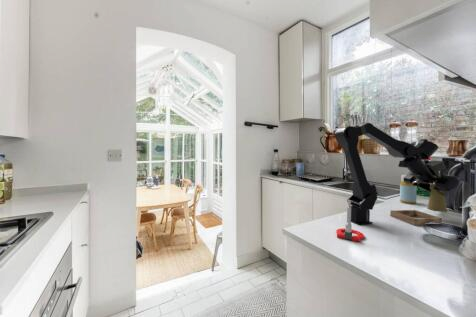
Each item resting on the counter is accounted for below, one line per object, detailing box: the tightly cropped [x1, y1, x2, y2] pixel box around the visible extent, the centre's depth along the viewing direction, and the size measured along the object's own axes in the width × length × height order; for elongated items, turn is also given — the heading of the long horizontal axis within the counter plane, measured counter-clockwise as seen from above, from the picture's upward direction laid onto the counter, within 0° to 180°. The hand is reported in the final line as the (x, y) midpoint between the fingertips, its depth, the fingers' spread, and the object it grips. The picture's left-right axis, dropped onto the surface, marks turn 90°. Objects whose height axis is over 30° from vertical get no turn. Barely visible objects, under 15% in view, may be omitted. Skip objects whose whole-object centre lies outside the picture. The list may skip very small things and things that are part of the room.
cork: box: [426, 183, 448, 213], centre depth 87 cm, size 6×6×11 cm
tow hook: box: [335, 200, 365, 243], centre depth 72 cm, size 8×13×9 cm
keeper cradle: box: [389, 209, 443, 227], centre depth 87 cm, size 12×12×2 cm
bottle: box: [399, 174, 418, 205], centre depth 114 cm, size 7×7×15 cm
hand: (440, 194), depth 87 cm, fingers closed on cork, 5 cm apart
